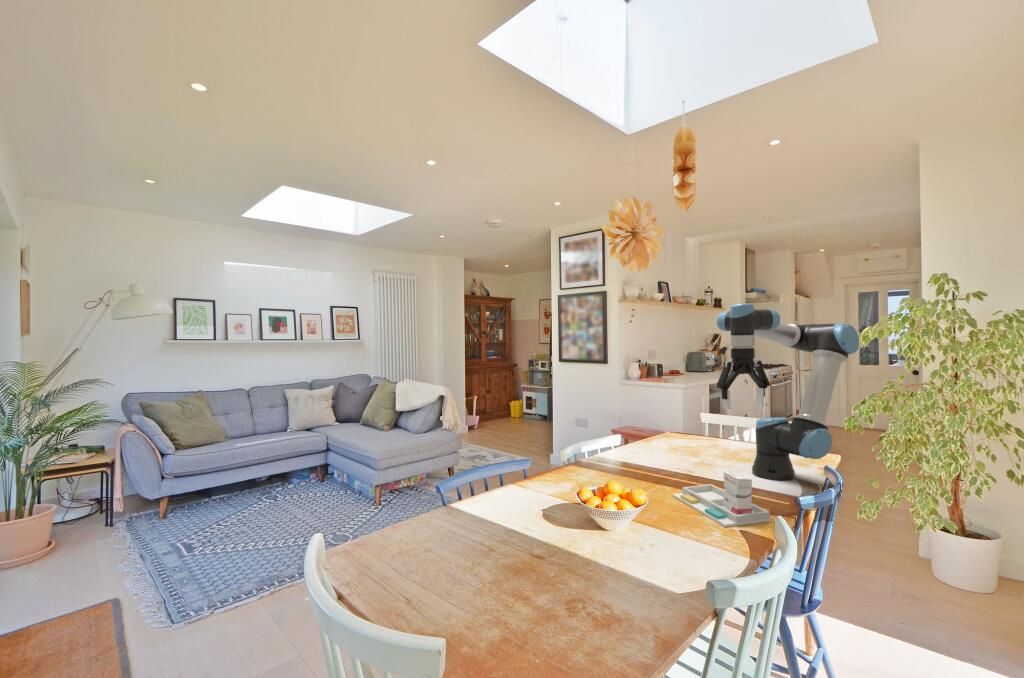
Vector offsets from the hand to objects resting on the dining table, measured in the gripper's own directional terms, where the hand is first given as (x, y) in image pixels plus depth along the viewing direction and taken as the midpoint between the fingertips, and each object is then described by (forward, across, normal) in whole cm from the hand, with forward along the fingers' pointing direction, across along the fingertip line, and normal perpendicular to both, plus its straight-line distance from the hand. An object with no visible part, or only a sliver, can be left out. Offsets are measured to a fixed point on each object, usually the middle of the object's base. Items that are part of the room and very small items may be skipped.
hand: (743, 407), depth 164 cm
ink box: (+31, +14, +13) cm, 36 cm away
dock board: (+32, +16, +6) cm, 36 cm away
